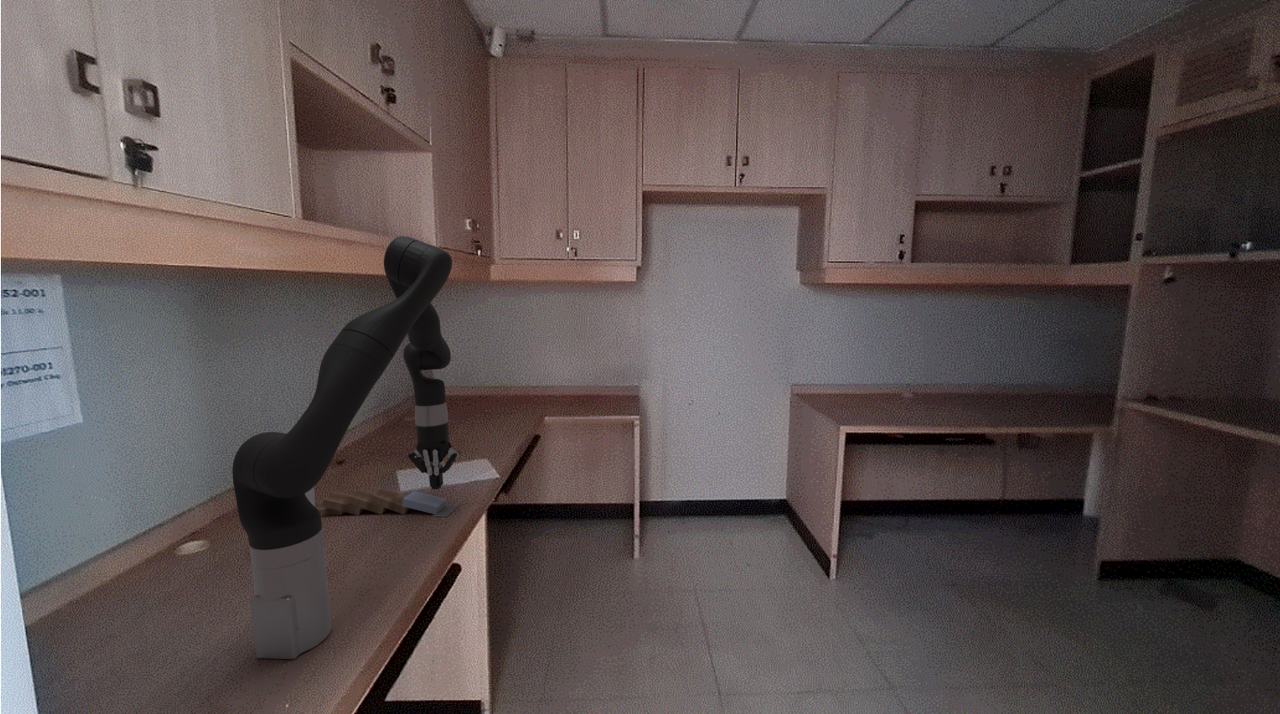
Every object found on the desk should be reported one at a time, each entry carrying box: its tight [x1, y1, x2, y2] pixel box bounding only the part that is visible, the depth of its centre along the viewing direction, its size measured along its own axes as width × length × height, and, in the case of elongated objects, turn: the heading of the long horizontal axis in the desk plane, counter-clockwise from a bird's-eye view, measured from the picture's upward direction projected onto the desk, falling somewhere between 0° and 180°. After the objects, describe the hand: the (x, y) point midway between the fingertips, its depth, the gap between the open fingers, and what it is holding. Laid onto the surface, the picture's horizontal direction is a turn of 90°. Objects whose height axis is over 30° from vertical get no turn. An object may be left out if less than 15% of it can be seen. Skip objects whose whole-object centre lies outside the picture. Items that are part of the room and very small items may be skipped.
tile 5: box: [315, 501, 346, 516], centre depth 128 cm, size 5×2×9 cm
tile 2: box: [371, 487, 413, 515], centre depth 127 cm, size 5×2×9 cm
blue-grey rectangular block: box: [402, 490, 447, 514], centre depth 127 cm, size 5×2×9 cm
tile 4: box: [322, 491, 366, 516], centre depth 127 cm, size 5×2×9 cm
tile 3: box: [347, 488, 389, 515], centre depth 127 cm, size 5×2×9 cm
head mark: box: [431, 504, 460, 518], centre depth 127 cm, size 7×4×1 cm, turn 176°
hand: (436, 488), depth 126 cm, fingers closed
